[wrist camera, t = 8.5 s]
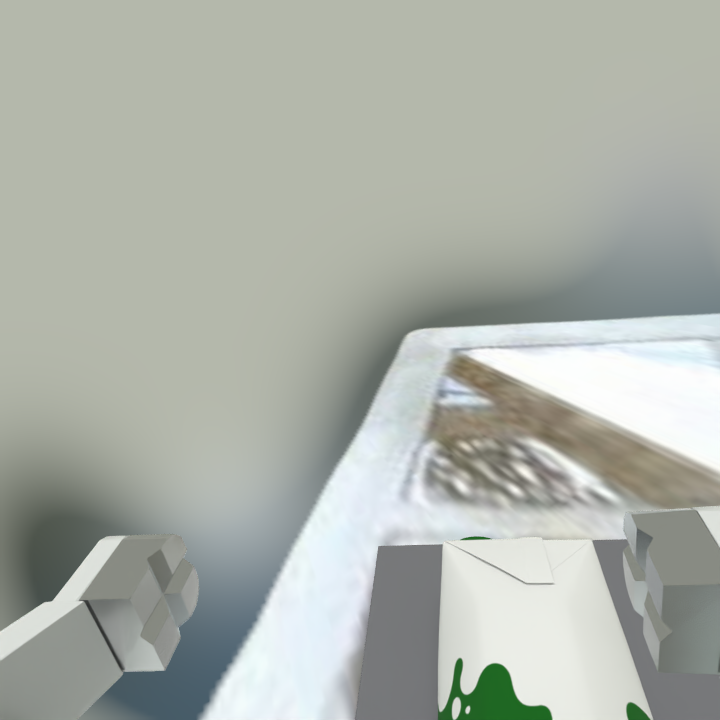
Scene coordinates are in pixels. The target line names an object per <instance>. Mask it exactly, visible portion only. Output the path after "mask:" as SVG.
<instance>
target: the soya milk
mask: <svg viewBox="0 0 720 720" xmlns="http://www.w3.org/2000/svg"><path fill="white" fill-rule="evenodd" d="M438 720H653V717H652V714H651V711H650V708H649V705H648V702H647V699H646V696H645V693H644V691H643V688H642V685H641V682H640V679H639V676H638V673H637V670H636V667H635V664H634V661H633V658H632V655H631V652H630V649H629V646H628V644H627V641H626V638H625V635H624V632H623V629H622V627H621V624H620V621H619V618H618V615H617V612H616V610H615V607H614V604H613V601H612V598H611V595H610V592H609V589H608V587H607V584H606V581H605V578H604V575H603V572H602V569H601V566H600V563H599V560H598V557H597V554H596V551H595V548H594V545H593V542H592V540H591V539H578V540H542V538H540V537H523V538H519V539H490V538H486V537H468V538H464V539H461V540H453V541H444V543H443V550H442V575H441V598H440V619H439V648H438Z"/></svg>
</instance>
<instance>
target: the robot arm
mask: <svg viewBox="0 0 720 720" xmlns="http://www.w3.org/2000/svg"><path fill="white" fill-rule="evenodd" d="M623 531H624V533H625V536H626V538H627V541H628V543H629V545H628V546H627V547H626V548H625V549H624V550H623V569H624V576H625V582H626V586H627V590H628V594H629V597H630V600H631V603H632V605H633V608H634V610H635V611H636V612H638V613H639V614H640V615H641V616H643V617H644V624H643V635H644V637H645V640H646V643H647V645H648V648H649V650H650V653H651V655H652V658H653V661H654V663H655V666H656V668H657V671H658V673H687V674H720V506H709V507H694V508H691V509H689V508H686V509H668V510H651V511H633V512H626V513H625V516H624V527H623ZM186 550H187V548H186V546H185V544H184V542H183V540H182V538H181V536H178V535H175V534H163V535H130V536H107V537H106V538H104V539H102V540H100V541H99V542H98V543H97V545H96V546H95V547H94V549H93V550H92V551H91V552H90V554H89V555H88V556H87V558H86V559H85V560H84V561H83V563H82V564H81V565H80V567H79V568H78V569H77V571H76V572H75V573H74V574H73V576H72V577H71V578H70V579H69V581H68V582H67V583H66V585H65V586H64V587H63V589H62V590H61V591H60V592H59V594H58V595H57V596H56V597H55V599H54V600H53V601H52V602H44V603H43V604H41V605H40V606H39V607H37V608H35V609H34V610H32V611H31V612H29V613H28V614H26V615H25V616H23V617H22V618H20V619H19V620H17V621H15V622H14V623H12V624H11V625H9V626H8V627H6V628H5V629H4V630H2V631H0V720H77V719H78V718H79V717H80V716H81V715H82V714H83V713H84V712H85V711H86V710H87V709H88V708H89V707H90V706H91V705H92V704H94V703H95V702H96V701H97V700H98V698H99V697H101V696H102V695H103V694H104V692H106V691H107V690H108V689H109V688H110V687H111V686H112V685H113V684H114V683H115V682H116V681H117V680H118V679H119V678H120V677H121V676H122V675H123V673H122V672H130V671H163V670H165V669H166V667H167V665H168V663H169V661H170V659H171V657H172V655H173V653H174V651H175V649H176V646H177V644H178V642H179V640H180V638H181V637H180V633H179V629H178V627H179V626H181V625H182V624H183V623H184V622H185V621H187V620H188V619H189V618H190V617H191V615H192V613H193V611H194V609H195V606H196V604H197V599H198V592H199V582H198V576H197V573H196V570H195V568H194V566H193V565H191V564H190V563H189V562H188V561H186V560H185V559H184V558H183V557H184V555H185V553H186Z"/></svg>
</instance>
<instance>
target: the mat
mask: <svg viewBox="0 0 720 720" xmlns="http://www.w3.org/2000/svg"><path fill="white" fill-rule="evenodd" d="M592 542H593V545H594V548H595V551H596V554H597V557H598V560H599V563H600V566H601V569H602V572H603V575H604V578H605V581H606V584H607V587H608V589H609V592H610V595H611V598H612V601H613V604H614V607H615V610H616V612H617V615H618V618H619V621H620V624H621V627H622V629H623V632H624V635H625V638H626V641H627V644H628V646H629V649H630V652H631V655H632V658H633V661H634V664H635V667H636V670H637V673H638V676H639V679H640V682H641V685H642V688H643V691H644V693H645V696H646V699H647V702H648V705H649V708H650V711H651V714H652V717H653V720H720V674H687V673H658V671H657V668H656V666H655V663H654V661H653V658H652V655H651V653H650V650H649V648H648V645H647V643H646V640H645V637H644V635H643V624H644V617H643V616H641V615H640V614H639V613H638V612H636V611H635V610H634V608H633V605H632V603H631V600H630V597H629V594H628V590H627V586H626V582H625V576H624V569H623V550H624V549H625V548H626V547H627V546H628V545H629V543H628V541H627V539H625V540H592ZM442 550H443V544H442V545H405V546H378V554H377V561H376V568H375V576H374V583H373V591H372V598H371V606H370V613H369V620H368V628H367V635H366V643H365V650H364V658H363V665H362V672H361V680H360V687H359V695H358V702H357V709H356V717H355V720H438V648H439V619H440V598H441V575H442Z"/></svg>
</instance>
